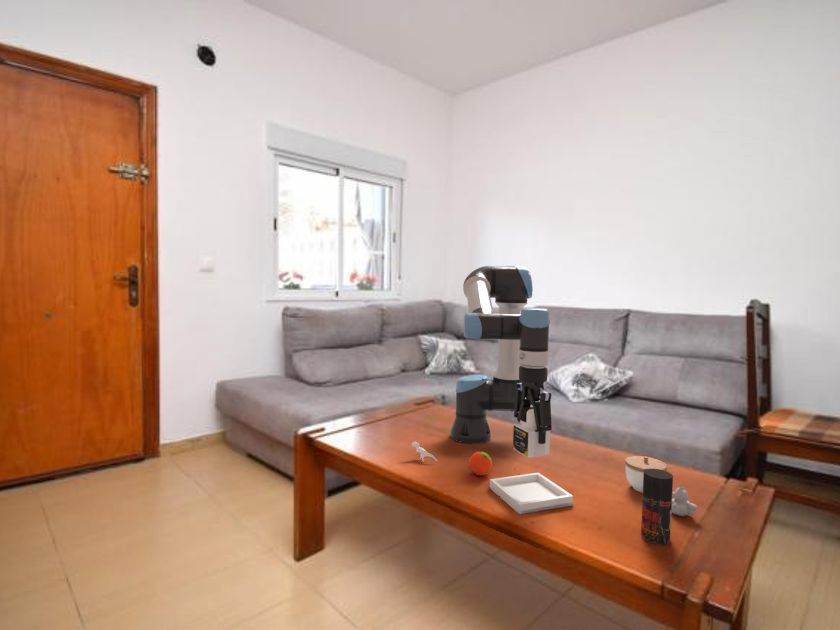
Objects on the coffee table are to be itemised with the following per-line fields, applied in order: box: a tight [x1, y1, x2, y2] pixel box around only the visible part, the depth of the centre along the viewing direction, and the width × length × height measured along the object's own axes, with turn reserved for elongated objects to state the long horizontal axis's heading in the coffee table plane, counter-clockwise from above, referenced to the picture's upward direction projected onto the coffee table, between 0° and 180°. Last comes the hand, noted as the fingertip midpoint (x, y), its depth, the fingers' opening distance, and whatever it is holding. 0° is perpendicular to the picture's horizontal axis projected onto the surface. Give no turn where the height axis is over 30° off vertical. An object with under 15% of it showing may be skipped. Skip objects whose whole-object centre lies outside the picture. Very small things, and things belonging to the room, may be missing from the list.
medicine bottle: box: [512, 406, 551, 458], centre depth 125 cm, size 7×7×12 cm
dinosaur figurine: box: [411, 441, 439, 462], centre depth 151 cm, size 15×12×6 cm
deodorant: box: [640, 469, 674, 546], centre depth 105 cm, size 6×6×15 cm
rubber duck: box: [671, 484, 698, 517], centre depth 116 cm, size 5×7×8 cm
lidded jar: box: [624, 455, 668, 494], centre depth 131 cm, size 11×11×9 cm
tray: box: [489, 472, 574, 515], centre depth 126 cm, size 16×16×2 cm
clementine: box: [468, 450, 493, 476], centre depth 140 cm, size 8×7×7 cm
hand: (531, 449), depth 125 cm, fingers closed on medicine bottle, 7 cm apart
